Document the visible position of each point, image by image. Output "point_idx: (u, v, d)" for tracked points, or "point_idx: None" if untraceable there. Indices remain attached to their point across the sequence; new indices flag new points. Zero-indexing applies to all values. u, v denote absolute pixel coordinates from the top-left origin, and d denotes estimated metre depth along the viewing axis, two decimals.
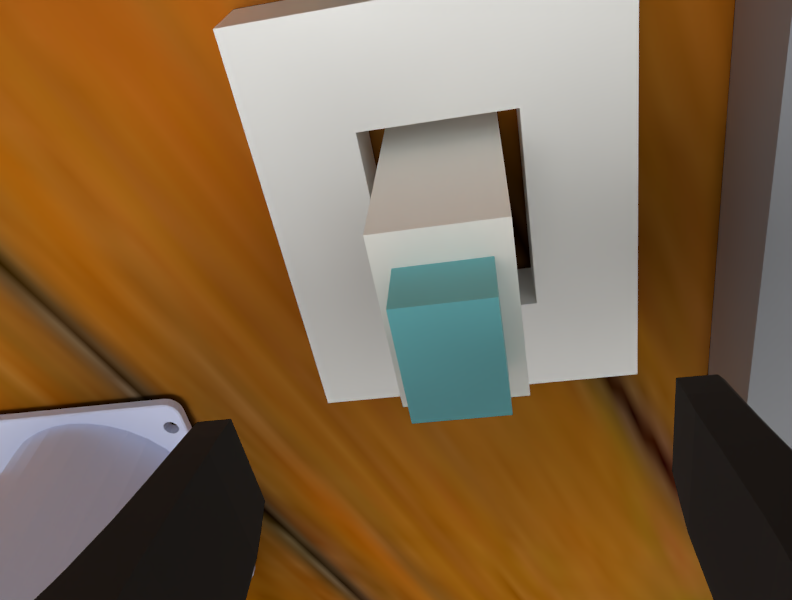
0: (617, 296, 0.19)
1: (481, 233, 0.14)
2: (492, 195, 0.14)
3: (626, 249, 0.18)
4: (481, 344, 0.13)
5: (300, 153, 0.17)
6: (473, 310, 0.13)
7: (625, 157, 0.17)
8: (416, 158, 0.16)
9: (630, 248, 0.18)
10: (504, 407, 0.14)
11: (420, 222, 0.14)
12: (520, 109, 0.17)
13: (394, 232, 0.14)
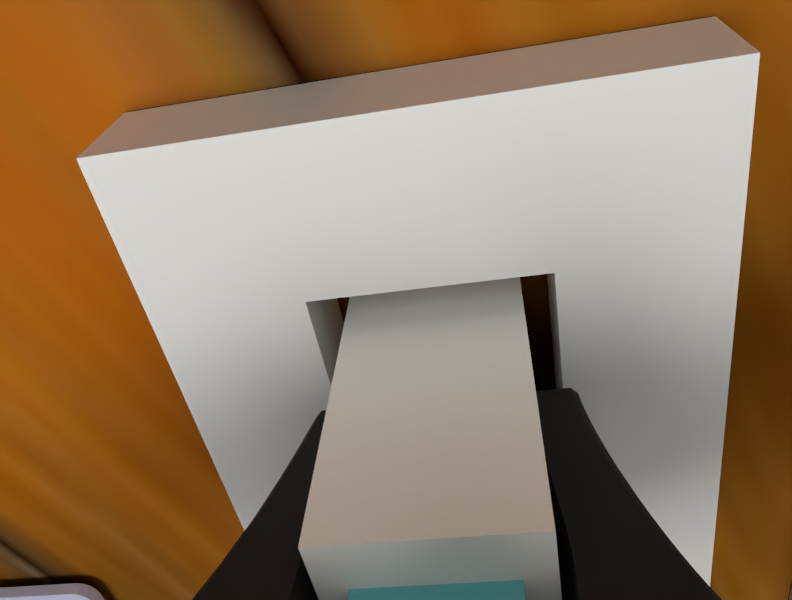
0: (688, 509, 0.13)
1: (500, 550, 0.08)
2: (519, 466, 0.08)
3: (705, 454, 0.13)
4: None
5: (224, 327, 0.12)
6: None
7: (713, 340, 0.11)
8: (396, 352, 0.11)
9: (711, 453, 0.13)
10: None
11: (396, 523, 0.08)
12: (555, 274, 0.11)
13: (352, 544, 0.08)
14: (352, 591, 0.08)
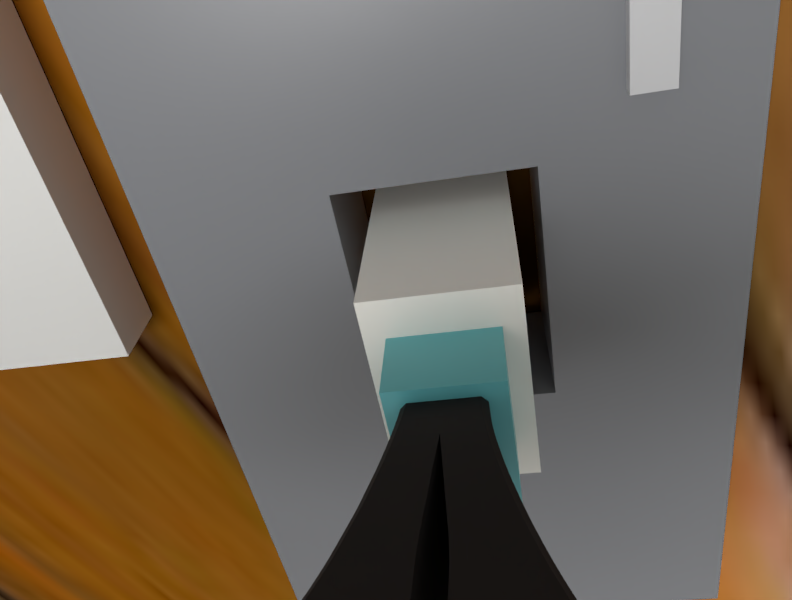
0: (65, 269, 0.17)
1: (487, 301, 0.12)
2: (500, 256, 0.13)
3: (47, 214, 0.16)
4: None
5: None
6: (479, 394, 0.11)
7: None
8: (414, 205, 0.15)
9: (50, 213, 0.16)
10: None
11: (418, 287, 0.12)
12: None
13: (389, 299, 0.12)
14: (388, 339, 0.13)
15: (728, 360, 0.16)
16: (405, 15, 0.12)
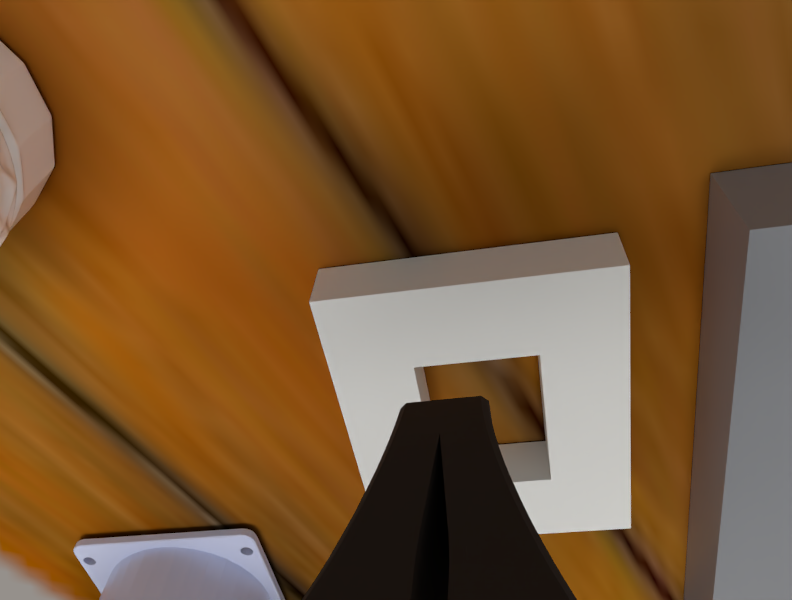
0: (614, 476, 0.24)
1: None
2: None
3: (621, 445, 0.24)
4: None
5: (370, 379, 0.23)
6: None
7: (620, 387, 0.22)
8: None
9: (624, 445, 0.23)
10: None
11: None
12: (540, 355, 0.22)
13: None
14: None
15: None
16: None
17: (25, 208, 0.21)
